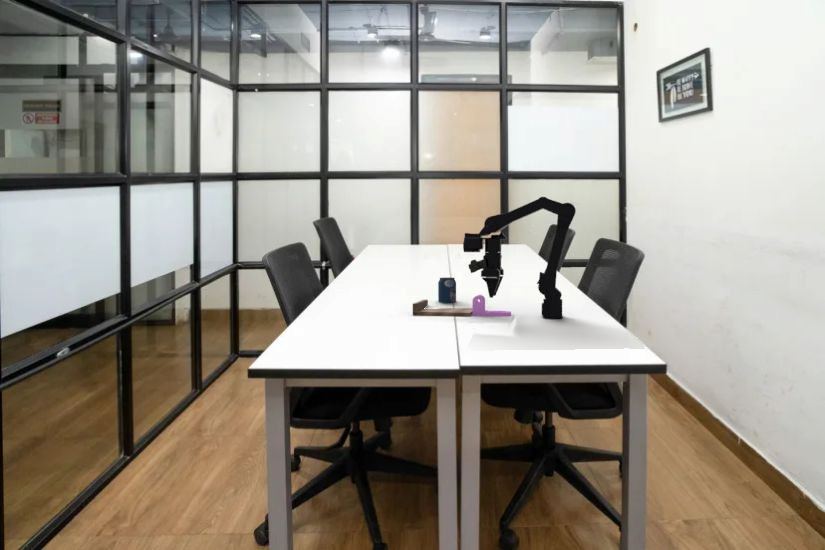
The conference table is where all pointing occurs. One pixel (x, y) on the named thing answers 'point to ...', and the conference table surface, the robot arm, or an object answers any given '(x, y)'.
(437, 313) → the board
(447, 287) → the soda can
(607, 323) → the conference table surface
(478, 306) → the bracket
